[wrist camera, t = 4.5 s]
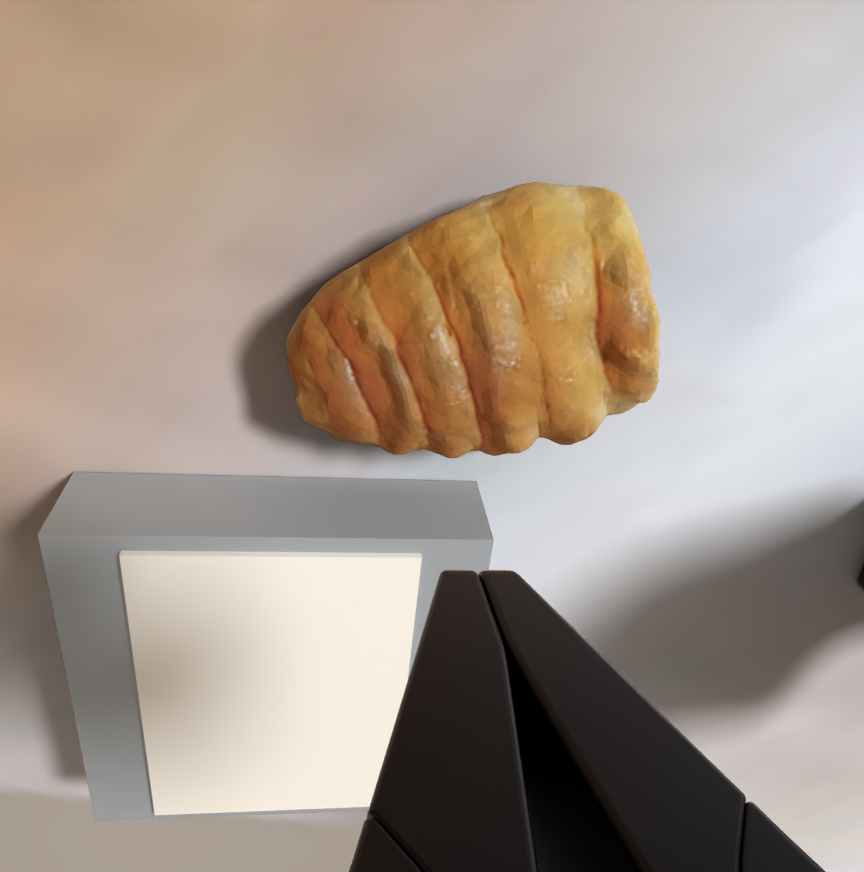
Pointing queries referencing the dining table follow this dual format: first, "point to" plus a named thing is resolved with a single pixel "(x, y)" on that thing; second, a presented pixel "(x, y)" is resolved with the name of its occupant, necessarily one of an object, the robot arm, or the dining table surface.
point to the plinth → (245, 631)
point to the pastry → (485, 328)
